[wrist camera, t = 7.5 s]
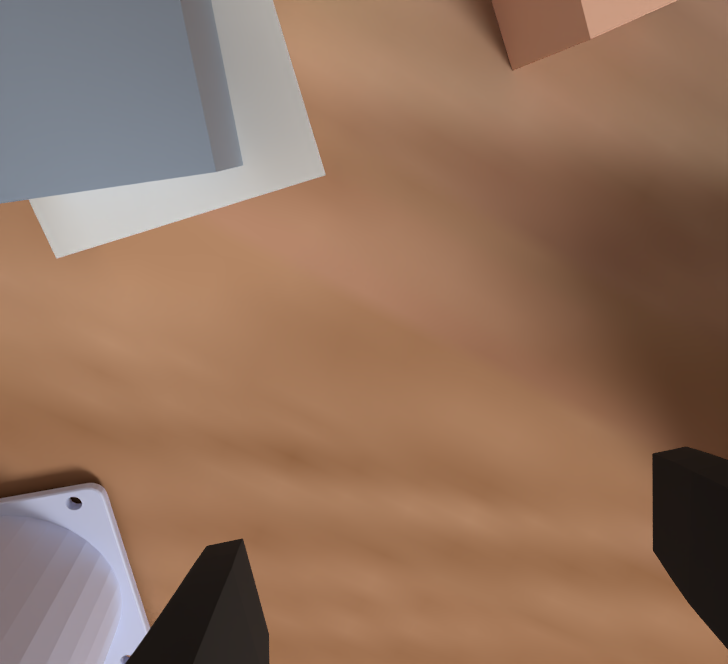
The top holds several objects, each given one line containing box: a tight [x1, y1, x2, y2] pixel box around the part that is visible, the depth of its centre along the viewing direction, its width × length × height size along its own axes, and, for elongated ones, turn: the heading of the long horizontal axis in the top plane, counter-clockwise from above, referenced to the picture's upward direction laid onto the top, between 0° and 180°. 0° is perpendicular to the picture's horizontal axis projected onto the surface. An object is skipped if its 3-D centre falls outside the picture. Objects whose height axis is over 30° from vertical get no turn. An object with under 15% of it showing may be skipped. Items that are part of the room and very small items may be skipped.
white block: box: [29, 0, 325, 258], centre depth 15 cm, size 7×7×4 cm
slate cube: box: [0, 0, 243, 203], centre depth 11 cm, size 4×4×5 cm
